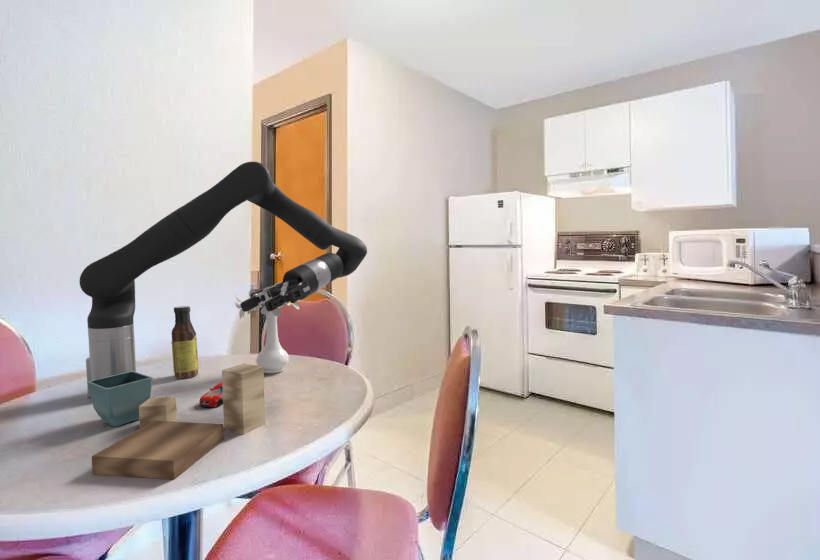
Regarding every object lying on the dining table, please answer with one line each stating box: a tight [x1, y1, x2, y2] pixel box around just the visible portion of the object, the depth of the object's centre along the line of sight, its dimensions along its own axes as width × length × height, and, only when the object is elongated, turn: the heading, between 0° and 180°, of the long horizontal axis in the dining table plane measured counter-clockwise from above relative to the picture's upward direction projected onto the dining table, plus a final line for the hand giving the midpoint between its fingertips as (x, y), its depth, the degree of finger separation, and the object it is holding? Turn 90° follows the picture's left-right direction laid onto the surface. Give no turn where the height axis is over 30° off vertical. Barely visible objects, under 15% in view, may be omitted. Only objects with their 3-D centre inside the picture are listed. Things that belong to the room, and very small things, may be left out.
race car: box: [198, 381, 223, 408], centre depth 102 cm, size 13×5×4 cm, turn 162°
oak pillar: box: [221, 363, 266, 435], centre depth 85 cm, size 6×6×12 cm
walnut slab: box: [91, 421, 225, 480], centre depth 73 cm, size 14×14×3 cm
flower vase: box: [234, 289, 301, 374], centre depth 124 cm, size 13×18×25 cm
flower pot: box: [86, 371, 153, 427], centre depth 88 cm, size 9×9×9 cm
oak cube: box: [138, 396, 178, 429], centre depth 86 cm, size 5×5×5 cm
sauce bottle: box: [171, 305, 199, 379], centre depth 119 cm, size 7×6×20 cm
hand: (254, 307), depth 90 cm, fingers open, 8 cm apart
